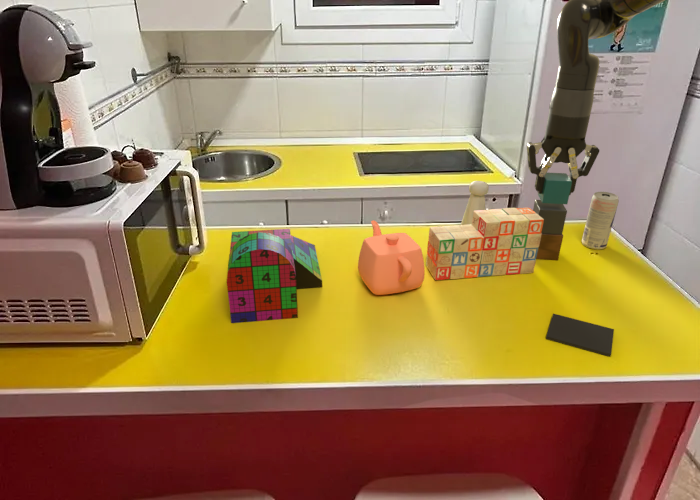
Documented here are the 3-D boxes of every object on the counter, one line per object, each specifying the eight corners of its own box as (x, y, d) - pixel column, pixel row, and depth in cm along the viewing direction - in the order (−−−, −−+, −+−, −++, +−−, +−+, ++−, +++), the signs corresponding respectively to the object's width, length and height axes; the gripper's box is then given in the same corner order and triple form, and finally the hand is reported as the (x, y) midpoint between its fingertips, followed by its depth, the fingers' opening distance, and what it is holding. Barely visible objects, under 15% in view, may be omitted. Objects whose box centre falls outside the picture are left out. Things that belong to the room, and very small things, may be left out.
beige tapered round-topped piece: (465, 240, 120) (472, 188, 114) (456, 230, 125) (462, 179, 119) (489, 238, 121) (497, 186, 115) (478, 228, 126) (485, 177, 120)
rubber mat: (613, 331, 89) (614, 329, 89) (610, 357, 83) (611, 354, 83) (552, 316, 93) (553, 313, 93) (545, 339, 87) (546, 336, 87)
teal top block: (561, 195, 111) (566, 173, 109) (567, 204, 106) (572, 181, 104) (537, 194, 111) (541, 172, 109) (542, 203, 107) (546, 180, 105)
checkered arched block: (328, 315, 93) (327, 244, 86) (231, 323, 91) (223, 251, 84) (314, 250, 115) (313, 190, 108) (236, 255, 112) (230, 194, 106)
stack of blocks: (434, 281, 104) (440, 225, 98) (425, 266, 109) (430, 212, 103) (534, 273, 107) (545, 218, 101) (520, 258, 112) (529, 206, 107)
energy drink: (606, 242, 120) (619, 193, 114) (606, 252, 116) (619, 202, 110) (581, 237, 122) (593, 189, 116) (580, 247, 117) (592, 197, 112)
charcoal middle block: (556, 224, 114) (561, 200, 112) (562, 234, 109) (567, 210, 107) (530, 222, 115) (534, 199, 112) (535, 233, 110) (539, 209, 107)
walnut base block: (552, 247, 117) (557, 223, 114) (558, 260, 112) (563, 235, 109) (524, 246, 118) (529, 222, 115) (529, 258, 113) (534, 233, 110)
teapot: (378, 310, 94) (380, 260, 90) (346, 264, 110) (346, 219, 105) (435, 299, 98) (440, 250, 93) (396, 256, 113) (398, 212, 108)
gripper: (535, 114, 98) (521, 198, 106) (614, 116, 96) (594, 202, 104) (528, 105, 105) (515, 185, 112) (602, 108, 103) (584, 188, 111)
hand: (553, 192), depth 108 cm, fingers closed on teal top block, 5 cm apart
